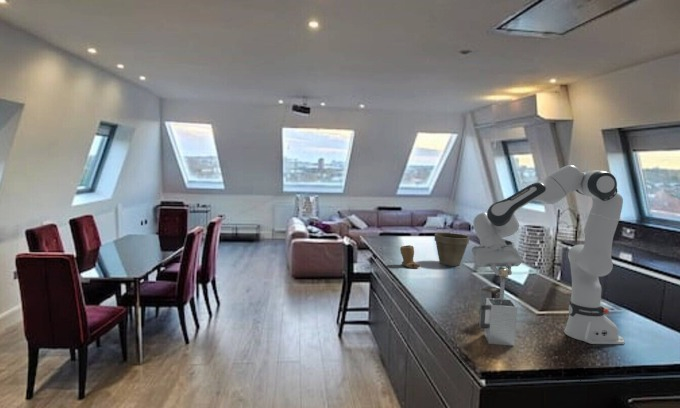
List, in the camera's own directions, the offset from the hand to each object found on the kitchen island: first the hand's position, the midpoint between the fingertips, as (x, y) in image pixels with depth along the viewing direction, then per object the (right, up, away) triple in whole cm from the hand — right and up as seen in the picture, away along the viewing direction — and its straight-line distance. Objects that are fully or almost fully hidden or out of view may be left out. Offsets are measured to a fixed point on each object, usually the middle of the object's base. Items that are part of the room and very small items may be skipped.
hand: (504, 274), depth 178 cm
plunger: (-1, -20, +2) cm, 20 cm away
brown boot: (-18, -16, +132) cm, 134 cm away
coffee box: (+1, -26, +23) cm, 35 cm away
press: (-3, -28, +3) cm, 28 cm away
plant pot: (+15, -16, +145) cm, 146 cm away
